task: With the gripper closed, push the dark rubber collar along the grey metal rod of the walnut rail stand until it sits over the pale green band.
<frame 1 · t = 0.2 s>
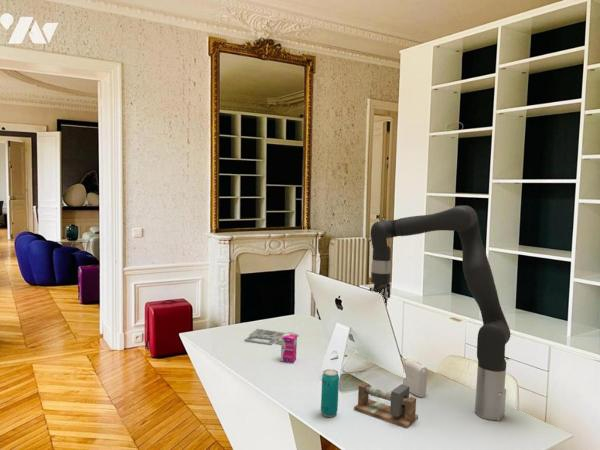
hand: (379, 311, 198), 29 cm above the table, tool pointing down, fingers open, 8 cm apart
collar: (399, 400, 169), point 7 cm above the table, slide at -5.0 cm
beverage can: (328, 414, 171), on the table
photo printer: (414, 392, 191), on the table
office telephone: (271, 339, 251), on the table
supplement box: (288, 361, 220), on the table
rail: (385, 414, 172), on the table
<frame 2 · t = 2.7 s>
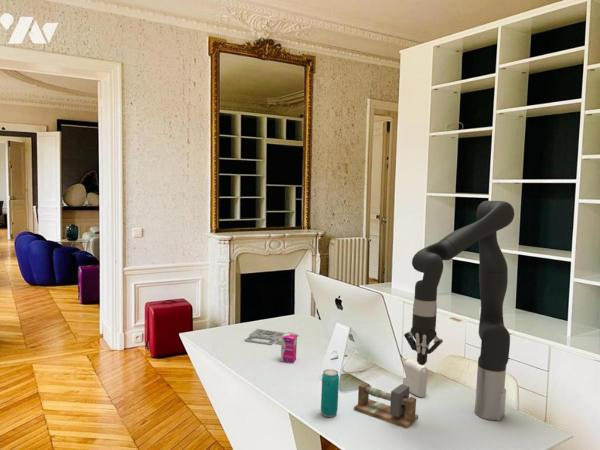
hand: (421, 364, 163), 21 cm above the table, tool pointing down, fingers closed
nothing on the table moved.
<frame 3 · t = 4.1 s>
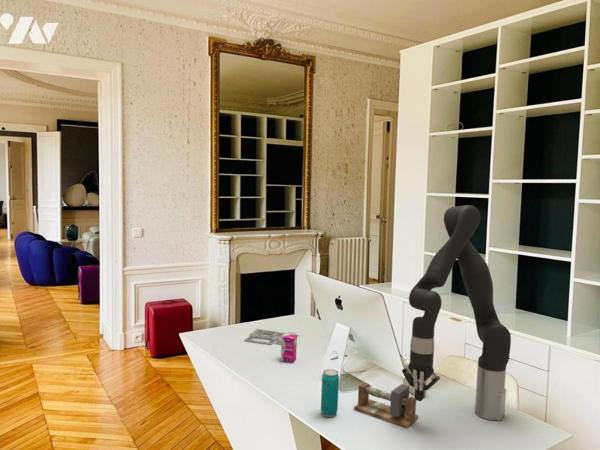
hand: (419, 400, 164), 9 cm above the table, tool pointing down, fingers closed
nothing on the table moved.
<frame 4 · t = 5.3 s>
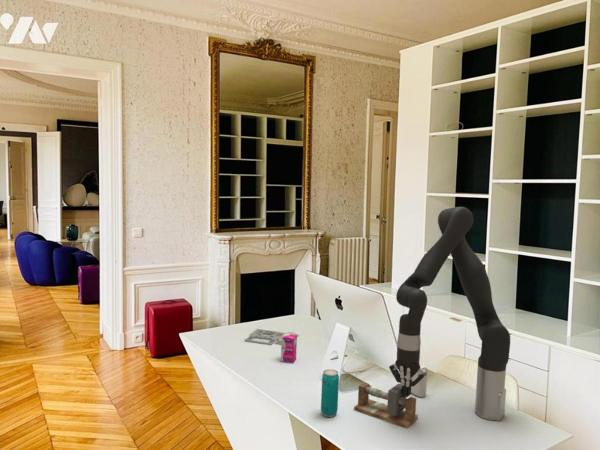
hand: (405, 396, 167), 9 cm above the table, tool pointing down, fingers closed
collar: (397, 399, 169), point 6 cm above the table, slide at -4.0 cm, touching gripper
everything else where it was.
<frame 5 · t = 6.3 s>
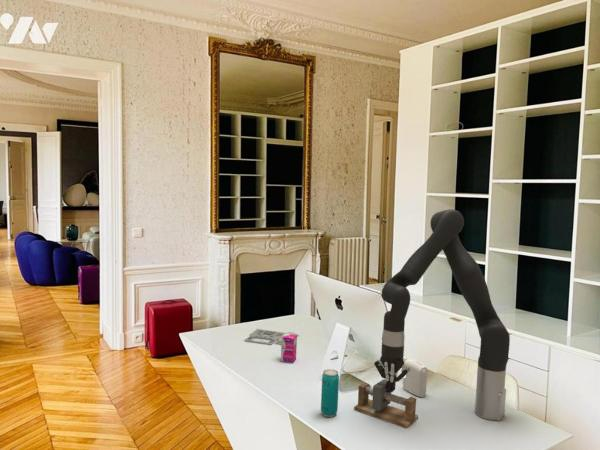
hand: (390, 391, 170), 9 cm above the table, tool pointing down, fingers closed
collar: (381, 394, 173), point 6 cm above the table, slide at 1.8 cm, touching gripper
everything else where it was.
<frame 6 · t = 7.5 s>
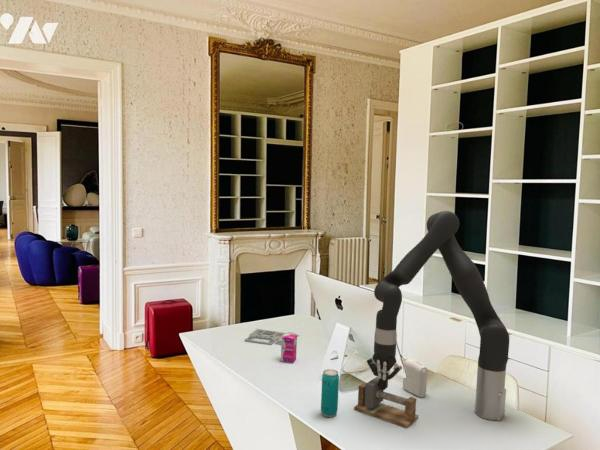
hand: (382, 389, 172), 9 cm above the table, tool pointing down, fingers closed
collar: (374, 392, 174), point 7 cm above the table, slide at 4.7 cm, touching gripper
everything else where it was.
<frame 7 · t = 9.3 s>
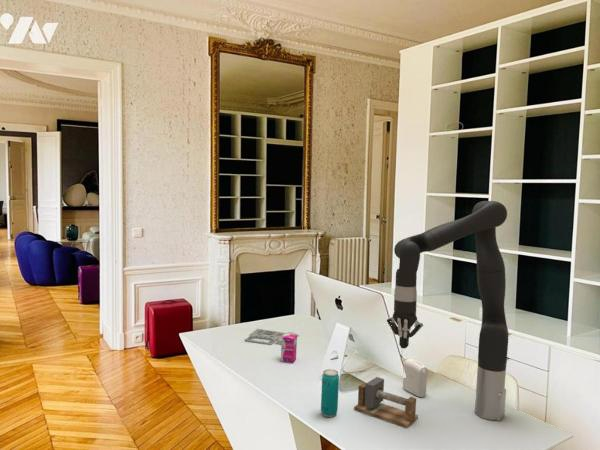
hand: (403, 347, 171), 24 cm above the table, tool pointing down, fingers closed
collar: (374, 392, 174), point 7 cm above the table, slide at 4.7 cm
everything else where it was.
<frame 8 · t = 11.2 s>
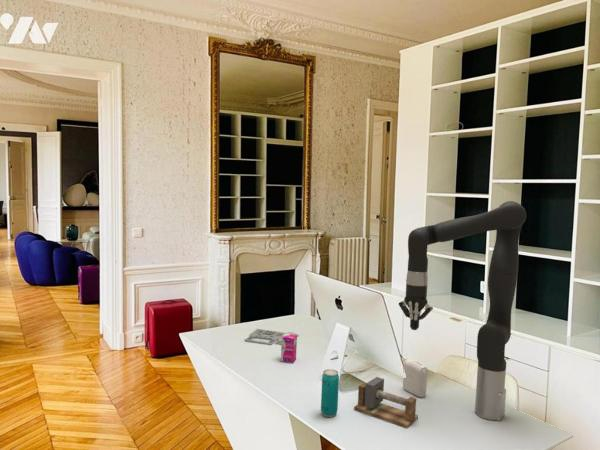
hand: (414, 329, 181), 27 cm above the table, tool pointing down, fingers closed
nothing on the table moved.
at the end: collar slide at 4.7 cm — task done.
